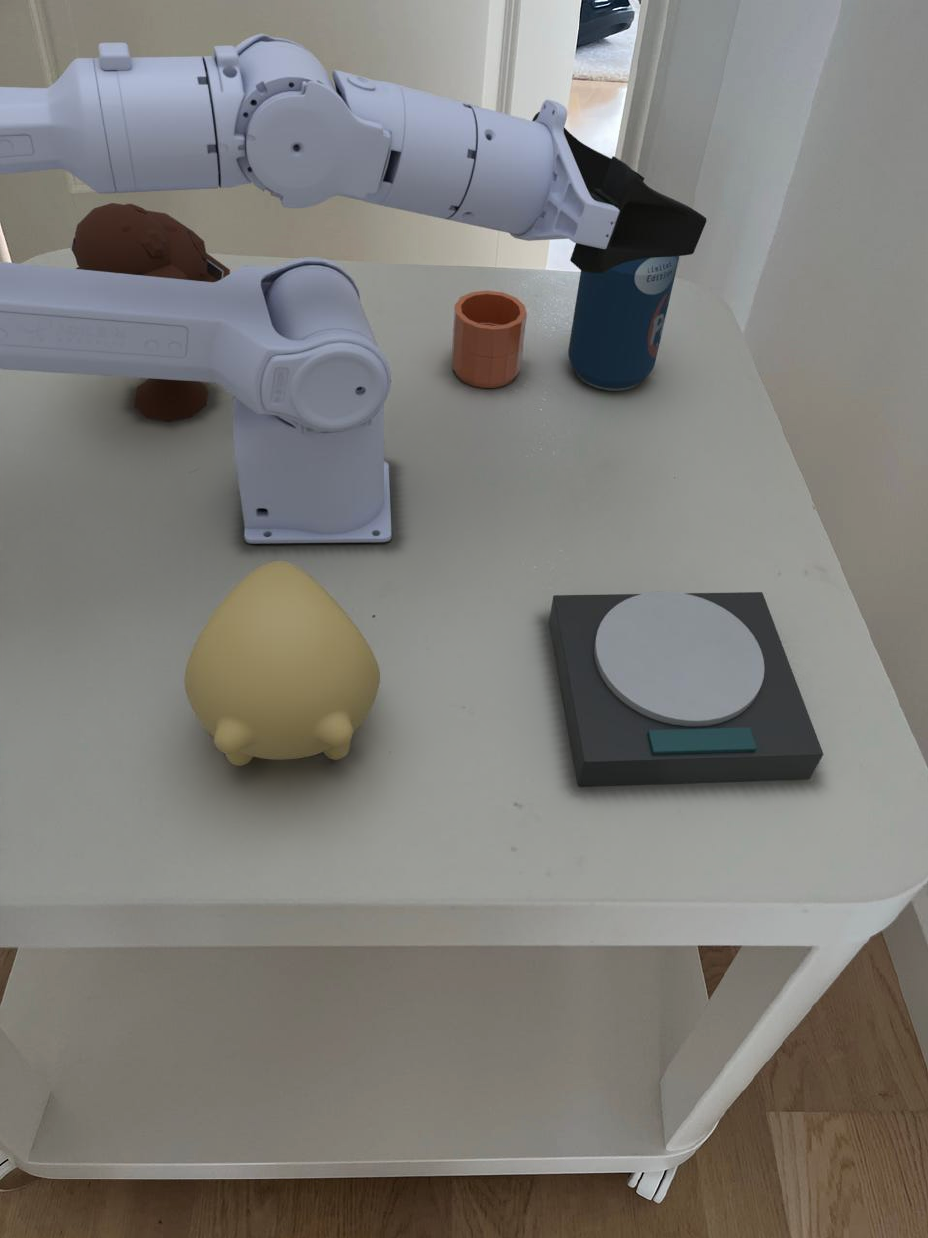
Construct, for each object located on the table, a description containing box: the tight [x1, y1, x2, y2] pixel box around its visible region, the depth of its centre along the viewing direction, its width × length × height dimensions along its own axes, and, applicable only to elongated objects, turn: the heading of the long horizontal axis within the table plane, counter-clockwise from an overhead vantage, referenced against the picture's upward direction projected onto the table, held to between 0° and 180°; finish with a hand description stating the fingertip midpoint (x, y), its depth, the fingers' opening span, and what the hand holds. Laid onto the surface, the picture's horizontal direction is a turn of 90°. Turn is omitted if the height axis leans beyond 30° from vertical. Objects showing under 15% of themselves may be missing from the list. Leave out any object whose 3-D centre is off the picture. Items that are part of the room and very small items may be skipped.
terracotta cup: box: [451, 290, 528, 389], centre depth 78 cm, size 5×6×5 cm
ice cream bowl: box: [71, 202, 231, 422], centre depth 69 cm, size 11×11×15 cm
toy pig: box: [183, 560, 381, 767], centre depth 53 cm, size 10×12×11 cm
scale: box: [548, 591, 824, 787], centre depth 57 cm, size 13×12×3 cm
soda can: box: [567, 256, 680, 392], centre depth 76 cm, size 7×7×12 cm
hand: (665, 213), depth 59 cm, fingers open, 7 cm apart
